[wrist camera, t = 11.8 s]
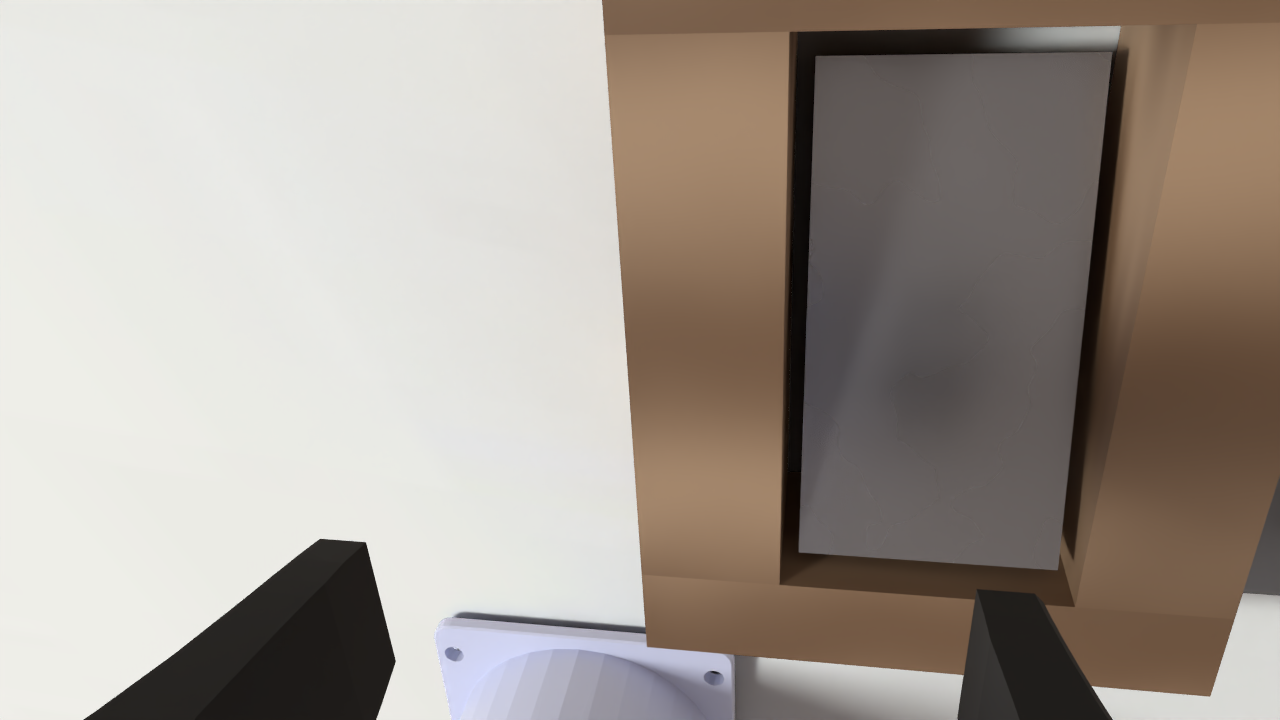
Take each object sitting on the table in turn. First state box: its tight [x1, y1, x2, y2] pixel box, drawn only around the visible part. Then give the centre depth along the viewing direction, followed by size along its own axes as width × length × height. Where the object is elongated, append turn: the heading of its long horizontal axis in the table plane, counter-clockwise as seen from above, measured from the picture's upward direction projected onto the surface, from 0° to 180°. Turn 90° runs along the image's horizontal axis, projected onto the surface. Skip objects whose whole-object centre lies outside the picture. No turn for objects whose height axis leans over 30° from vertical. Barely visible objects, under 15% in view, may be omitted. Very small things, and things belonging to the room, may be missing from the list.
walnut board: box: [602, 0, 1280, 696], centre depth 19 cm, size 15×11×4 cm
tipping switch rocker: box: [799, 52, 1112, 570], centre depth 18 cm, size 9×5×1 cm, turn 3°
